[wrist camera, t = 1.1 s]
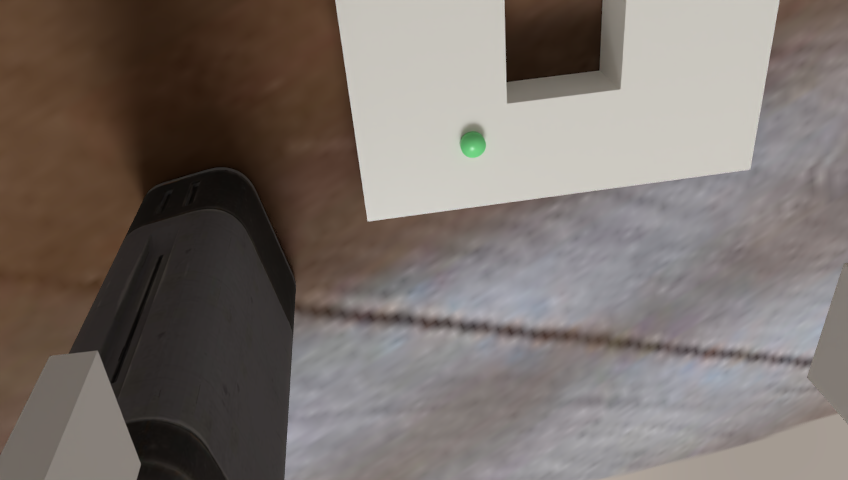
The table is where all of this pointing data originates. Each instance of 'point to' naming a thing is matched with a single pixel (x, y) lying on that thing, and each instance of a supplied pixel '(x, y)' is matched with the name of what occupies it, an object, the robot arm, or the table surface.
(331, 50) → the table surface
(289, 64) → the table surface
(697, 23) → the port plate
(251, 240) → the electronic device
